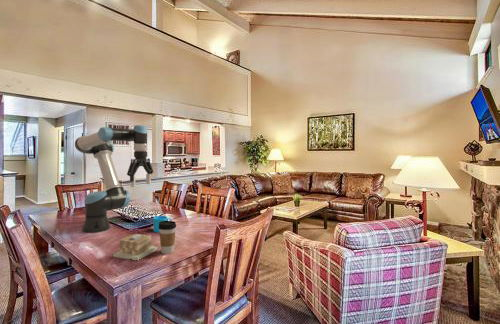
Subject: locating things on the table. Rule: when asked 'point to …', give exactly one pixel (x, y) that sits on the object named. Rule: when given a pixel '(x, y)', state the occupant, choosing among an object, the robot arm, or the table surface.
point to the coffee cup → (167, 236)
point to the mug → (156, 222)
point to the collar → (135, 245)
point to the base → (135, 257)
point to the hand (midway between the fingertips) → (141, 185)
